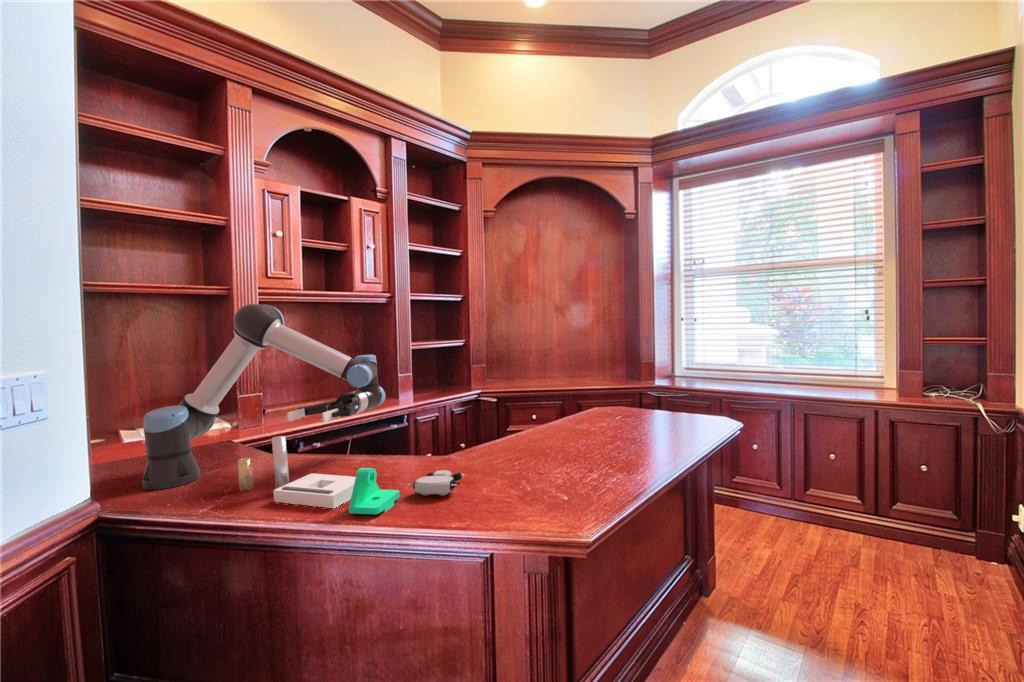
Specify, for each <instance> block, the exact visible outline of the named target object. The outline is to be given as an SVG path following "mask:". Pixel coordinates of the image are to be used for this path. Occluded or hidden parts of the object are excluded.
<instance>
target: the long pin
mask: <svg viewBox="0 0 1024 682" xmlns="http://www.w3.org/2000/svg"><path fill="white" fill-rule="evenodd" d="M271 445H272V446H271V447H272V448H271V449H272V460H273V470H274V482H275V484H274V485H275V489H277V488H279V487H282V486H284V485H286V484H288V483H290V474H289V473H290V472H289V461H288V460H289V459H288V450H287V447H288V446H287V437H286V435H277V436H273V437H271Z"/></svg>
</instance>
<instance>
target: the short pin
mask: <svg viewBox="0 0 1024 682" xmlns="http://www.w3.org/2000/svg"><path fill="white" fill-rule="evenodd" d="M236 461H237V472H238V473H237V475H238V483H239V484H238V485H239V491H240V490H248V489H251V488H253V487H254V488H255V486H254V477H253V465H252V457H250V456H249V457H242V458H238V459H237V460H236ZM254 488H253V489H254ZM251 490H252V489H251ZM248 491H249V490H248Z"/></svg>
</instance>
